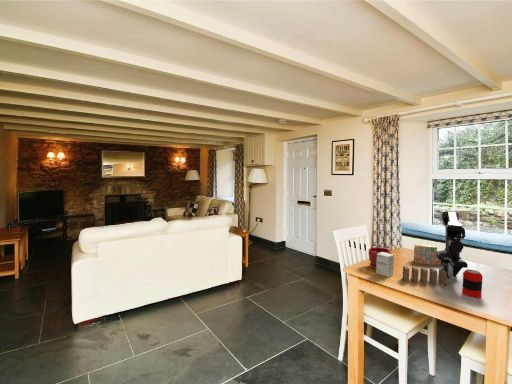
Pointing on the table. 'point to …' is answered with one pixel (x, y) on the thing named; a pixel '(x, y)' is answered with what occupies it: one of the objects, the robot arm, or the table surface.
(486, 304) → the table surface
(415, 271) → the domino
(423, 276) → the domino
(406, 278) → the domino
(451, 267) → the domino
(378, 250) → the plant pot
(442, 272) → the domino
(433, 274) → the domino
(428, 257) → the printed cardboard carton
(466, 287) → the soda can
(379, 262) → the supplement box
